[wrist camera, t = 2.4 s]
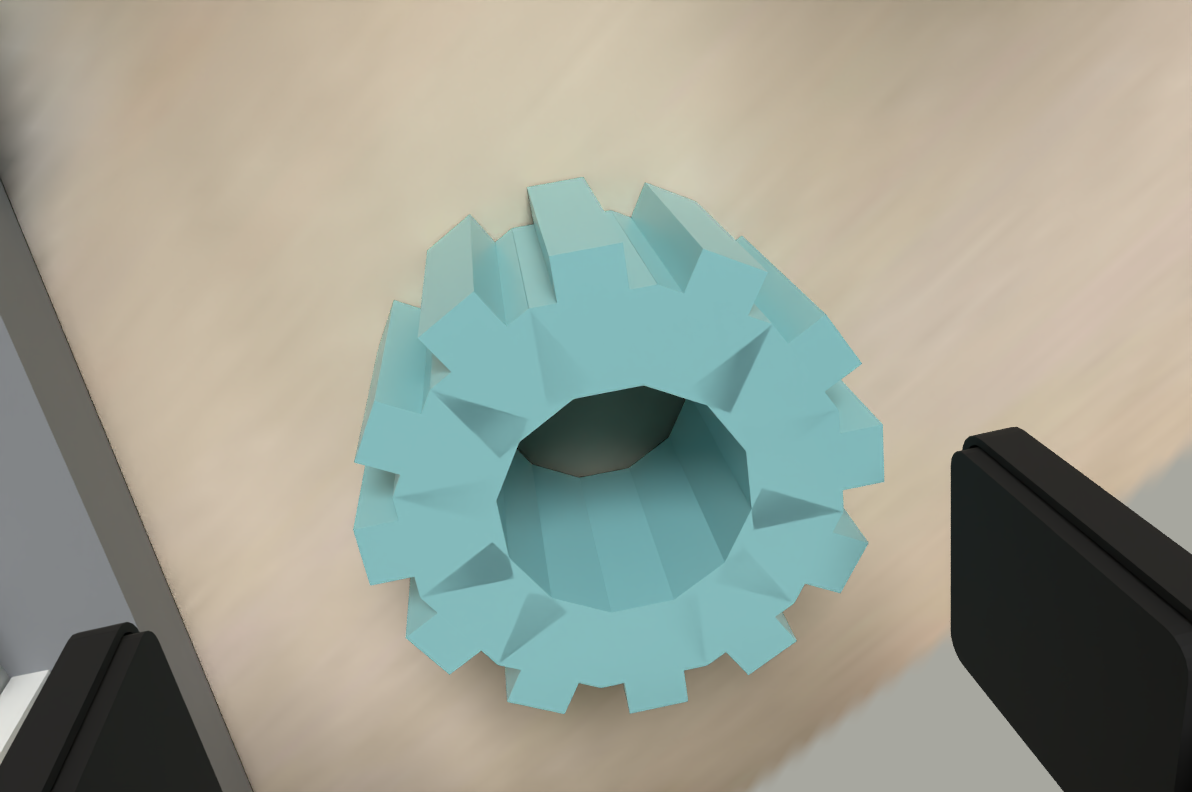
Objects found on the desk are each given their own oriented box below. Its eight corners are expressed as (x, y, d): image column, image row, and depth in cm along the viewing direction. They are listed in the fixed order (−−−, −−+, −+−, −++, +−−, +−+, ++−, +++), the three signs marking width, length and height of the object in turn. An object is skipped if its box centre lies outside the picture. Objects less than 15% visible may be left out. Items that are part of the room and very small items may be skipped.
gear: (777, 142, 15) (876, 195, 12) (804, 521, 18) (889, 658, 15) (326, 223, 15) (284, 304, 11) (429, 598, 18) (422, 757, 14)
